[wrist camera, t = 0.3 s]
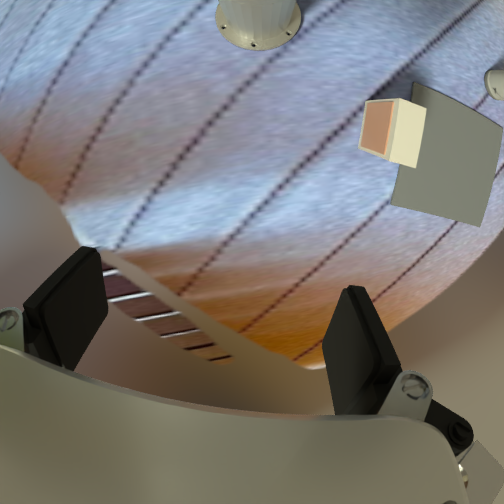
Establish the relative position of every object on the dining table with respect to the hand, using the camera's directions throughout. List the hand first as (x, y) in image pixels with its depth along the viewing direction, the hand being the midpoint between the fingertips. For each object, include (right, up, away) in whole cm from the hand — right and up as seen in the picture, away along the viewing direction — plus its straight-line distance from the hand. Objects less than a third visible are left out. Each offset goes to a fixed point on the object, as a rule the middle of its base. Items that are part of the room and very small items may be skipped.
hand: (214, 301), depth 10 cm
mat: (+38, +18, +29) cm, 51 cm away
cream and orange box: (+20, +21, +28) cm, 41 cm away
